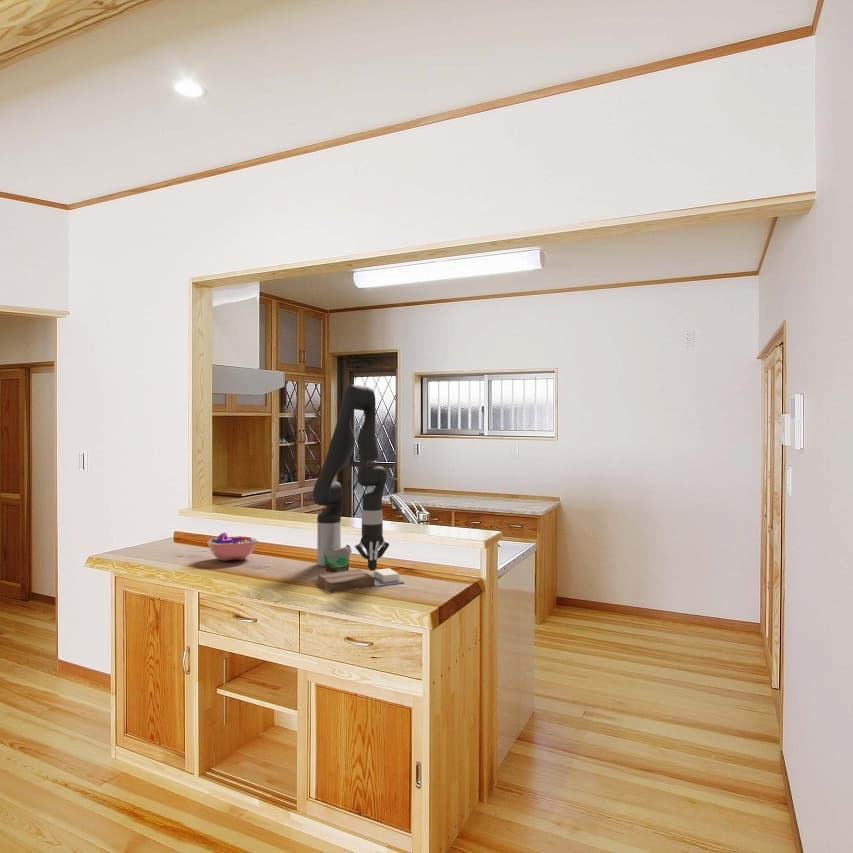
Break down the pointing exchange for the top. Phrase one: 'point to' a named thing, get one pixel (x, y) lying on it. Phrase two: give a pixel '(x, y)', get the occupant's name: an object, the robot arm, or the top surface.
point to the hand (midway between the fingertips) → (372, 569)
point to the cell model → (231, 547)
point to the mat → (380, 583)
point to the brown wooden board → (346, 580)
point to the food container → (337, 559)
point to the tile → (386, 575)
